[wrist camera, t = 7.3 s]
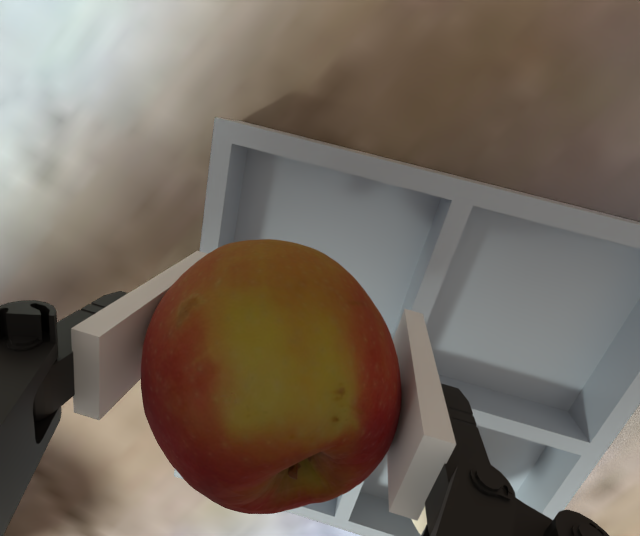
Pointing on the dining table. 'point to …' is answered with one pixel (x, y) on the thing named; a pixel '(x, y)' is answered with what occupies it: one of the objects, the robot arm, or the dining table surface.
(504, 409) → the tray
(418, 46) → the dining table surface
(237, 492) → the apple
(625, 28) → the dining table surface
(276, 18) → the dining table surface
